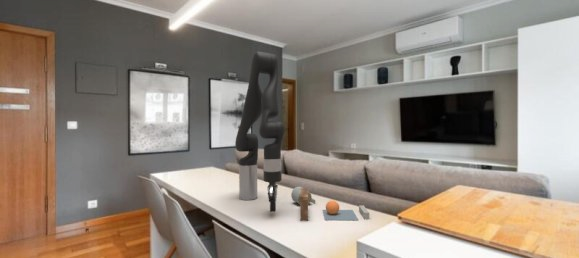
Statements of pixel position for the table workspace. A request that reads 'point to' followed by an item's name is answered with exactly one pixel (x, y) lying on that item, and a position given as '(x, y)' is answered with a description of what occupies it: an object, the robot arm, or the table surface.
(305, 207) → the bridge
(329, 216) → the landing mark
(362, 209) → the stopper
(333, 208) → the ball
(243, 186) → the robot arm
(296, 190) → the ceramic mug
